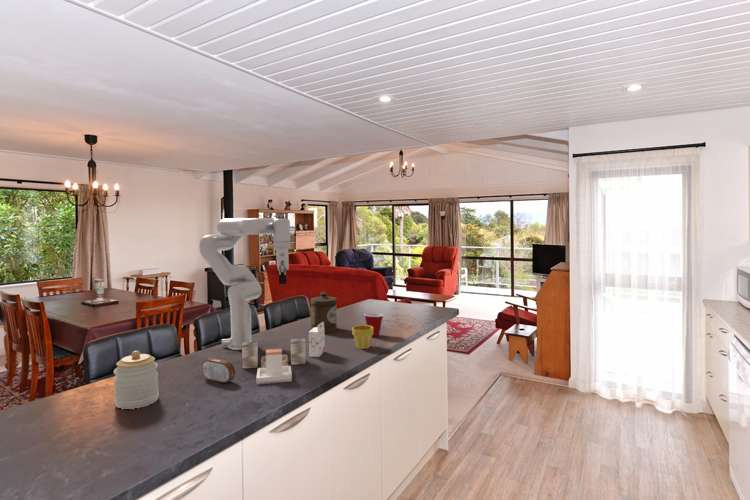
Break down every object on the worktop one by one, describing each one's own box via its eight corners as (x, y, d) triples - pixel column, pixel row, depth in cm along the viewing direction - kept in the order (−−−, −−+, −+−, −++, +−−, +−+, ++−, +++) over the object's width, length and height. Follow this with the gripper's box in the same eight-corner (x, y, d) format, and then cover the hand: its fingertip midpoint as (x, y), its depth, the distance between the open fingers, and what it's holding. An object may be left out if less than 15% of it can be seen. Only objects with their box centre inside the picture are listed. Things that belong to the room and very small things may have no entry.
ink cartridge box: (314, 351, 197) (314, 320, 196) (324, 351, 196) (324, 321, 195) (308, 356, 188) (308, 324, 187) (318, 357, 187) (318, 325, 186)
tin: (236, 382, 158) (235, 360, 157) (230, 385, 155) (229, 363, 154) (207, 376, 164) (206, 355, 164) (200, 379, 161) (200, 358, 161)
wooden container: (335, 333, 229) (334, 293, 228) (308, 333, 229) (308, 293, 228) (337, 326, 244) (337, 289, 243) (312, 326, 244) (312, 289, 243)
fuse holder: (242, 370, 171) (241, 346, 170) (243, 363, 179) (243, 340, 179) (305, 365, 177) (305, 342, 176) (304, 358, 185) (304, 336, 185)
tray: (256, 384, 156) (256, 378, 155) (257, 374, 166) (257, 368, 166) (291, 381, 159) (291, 375, 158) (290, 371, 169) (290, 365, 169)
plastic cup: (387, 334, 226) (387, 313, 225) (377, 339, 216) (377, 316, 216) (370, 332, 231) (370, 310, 231) (359, 336, 222) (359, 314, 222)
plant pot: (364, 351, 196) (364, 331, 195) (347, 347, 202) (347, 327, 202) (377, 346, 204) (377, 326, 204) (361, 342, 210) (361, 323, 210)
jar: (127, 414, 131) (125, 359, 130) (107, 404, 138) (105, 352, 137) (167, 399, 142) (165, 348, 141) (146, 391, 149) (144, 343, 148)
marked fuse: (266, 378, 160) (265, 352, 159) (266, 374, 164) (266, 349, 163) (282, 376, 161) (281, 351, 161) (282, 373, 165) (281, 348, 164)
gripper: (290, 246, 183) (291, 284, 184) (289, 244, 200) (290, 279, 201) (273, 246, 181) (274, 285, 182) (273, 244, 198) (274, 280, 199)
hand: (282, 282), depth 191 cm, fingers open, 9 cm apart
